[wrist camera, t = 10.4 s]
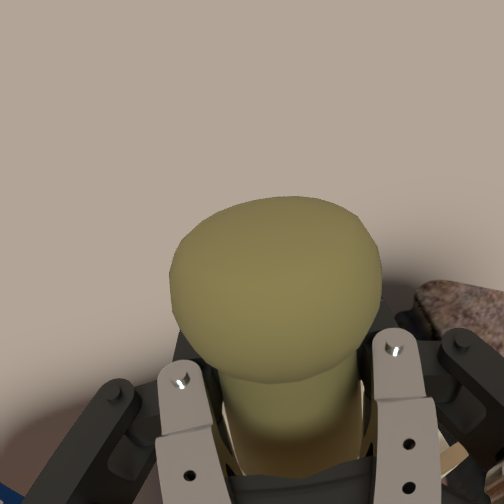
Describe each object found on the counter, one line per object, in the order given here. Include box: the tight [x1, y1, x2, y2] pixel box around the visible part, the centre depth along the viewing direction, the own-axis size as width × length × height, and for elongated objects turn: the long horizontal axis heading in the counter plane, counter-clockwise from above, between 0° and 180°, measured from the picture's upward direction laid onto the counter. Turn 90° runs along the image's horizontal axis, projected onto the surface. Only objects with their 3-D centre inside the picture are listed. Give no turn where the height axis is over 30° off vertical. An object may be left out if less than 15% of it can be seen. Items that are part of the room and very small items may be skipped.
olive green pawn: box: [169, 196, 382, 479], centre depth 9 cm, size 6×6×11 cm
